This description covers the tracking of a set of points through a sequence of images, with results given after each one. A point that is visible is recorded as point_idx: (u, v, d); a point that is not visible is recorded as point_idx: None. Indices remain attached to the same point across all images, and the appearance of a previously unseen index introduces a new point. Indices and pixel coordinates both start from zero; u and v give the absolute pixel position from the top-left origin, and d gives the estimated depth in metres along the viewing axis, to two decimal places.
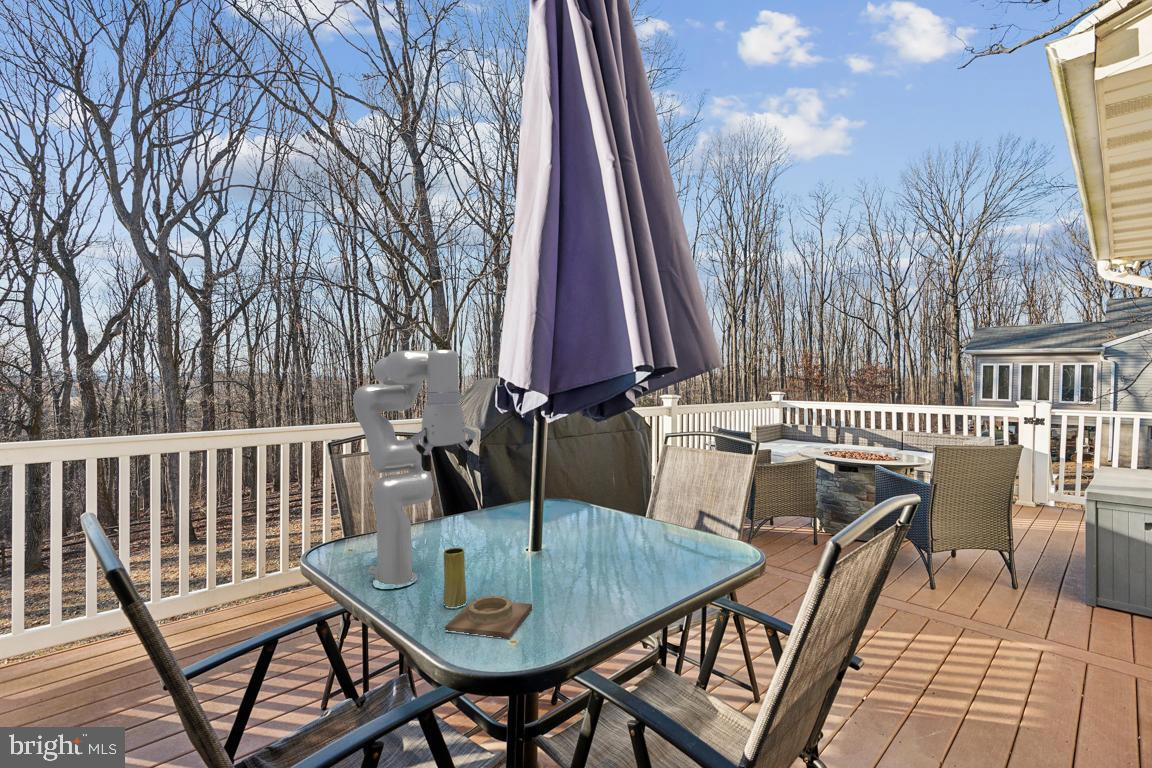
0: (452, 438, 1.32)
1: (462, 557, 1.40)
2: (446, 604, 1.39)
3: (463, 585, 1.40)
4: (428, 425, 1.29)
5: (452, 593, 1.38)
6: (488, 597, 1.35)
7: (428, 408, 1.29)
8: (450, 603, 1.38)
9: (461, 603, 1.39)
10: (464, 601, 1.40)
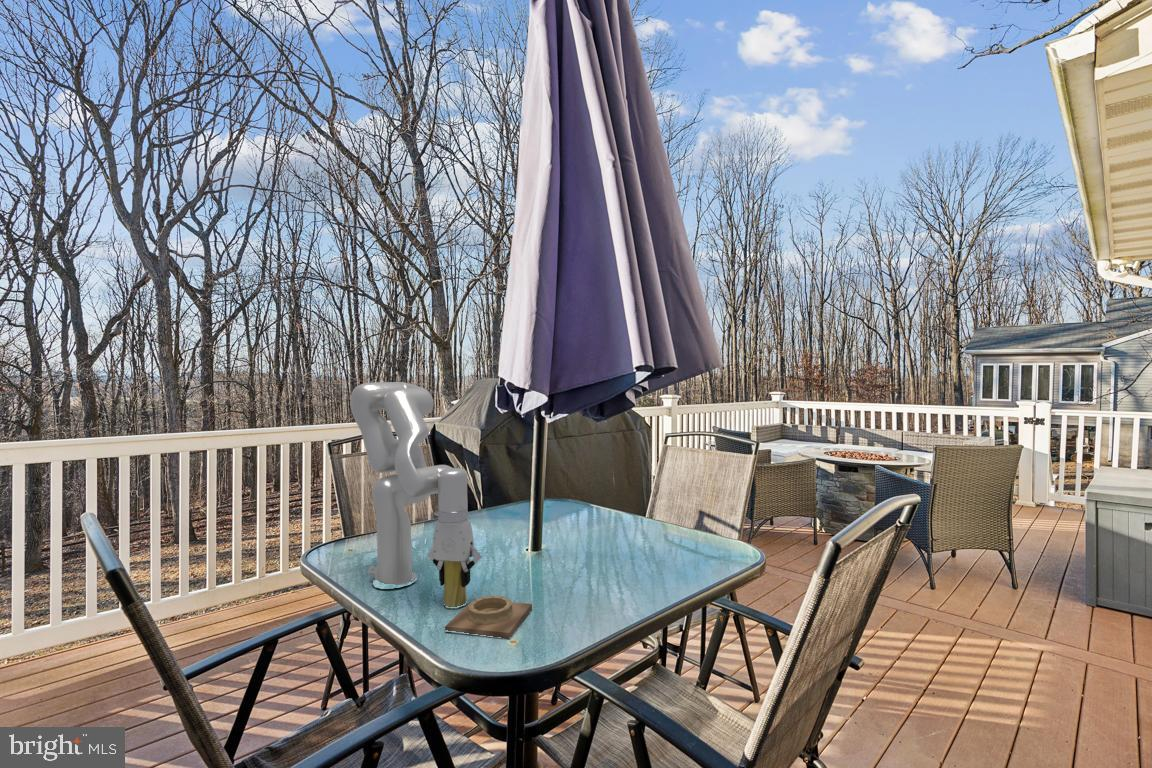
0: None
1: None
2: (446, 604, 1.39)
3: None
4: None
5: (452, 593, 1.38)
6: (488, 597, 1.35)
7: (470, 523, 1.40)
8: (450, 603, 1.38)
9: (461, 603, 1.39)
10: (464, 601, 1.40)
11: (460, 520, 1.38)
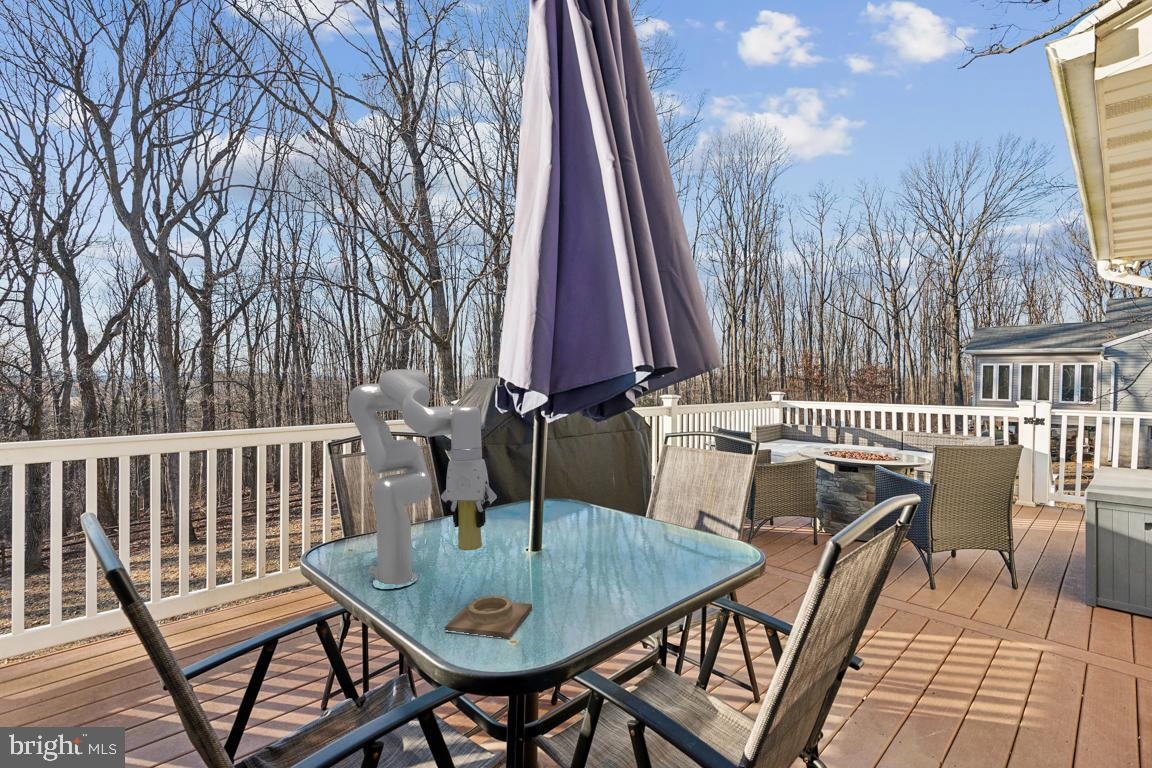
0: None
1: None
2: (461, 545, 1.34)
3: None
4: (487, 477, 1.36)
5: (467, 534, 1.33)
6: (488, 597, 1.35)
7: (484, 462, 1.36)
8: (465, 544, 1.33)
9: (476, 544, 1.34)
10: (479, 543, 1.35)
11: (474, 458, 1.33)
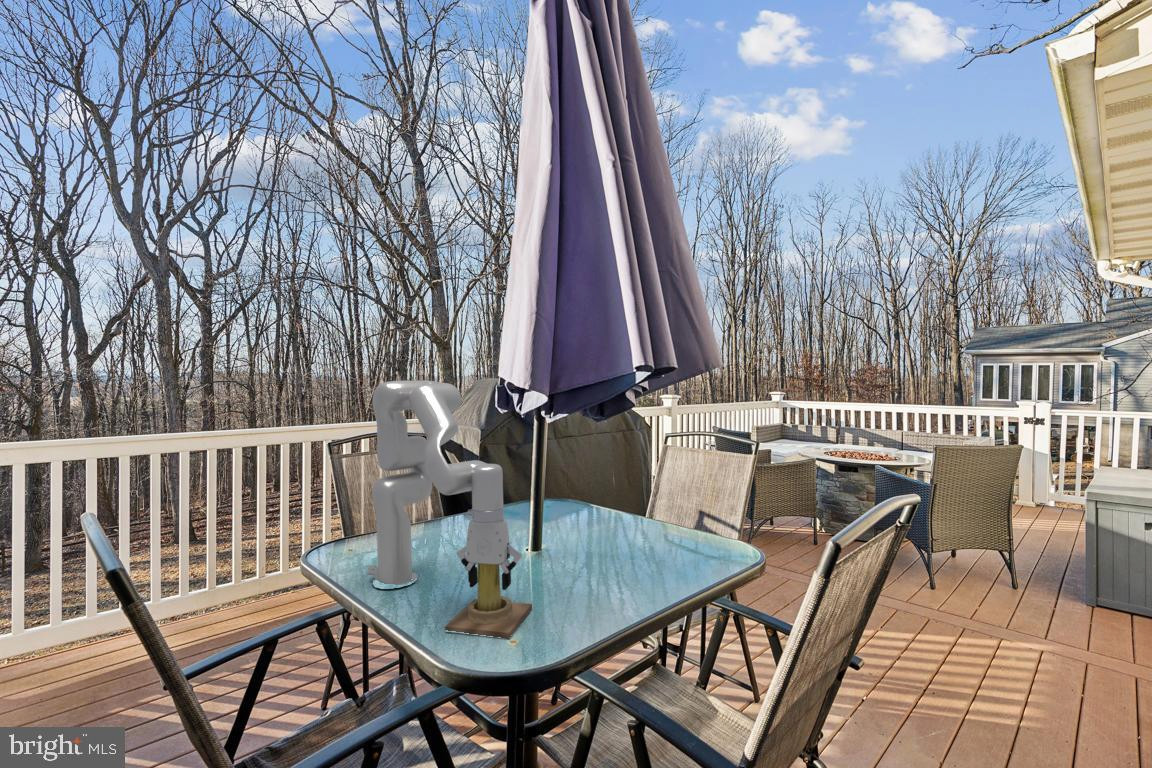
0: None
1: None
2: None
3: (498, 593, 1.30)
4: (509, 539, 1.31)
5: (487, 602, 1.28)
6: None
7: (506, 523, 1.30)
8: None
9: None
10: None
11: (496, 520, 1.28)
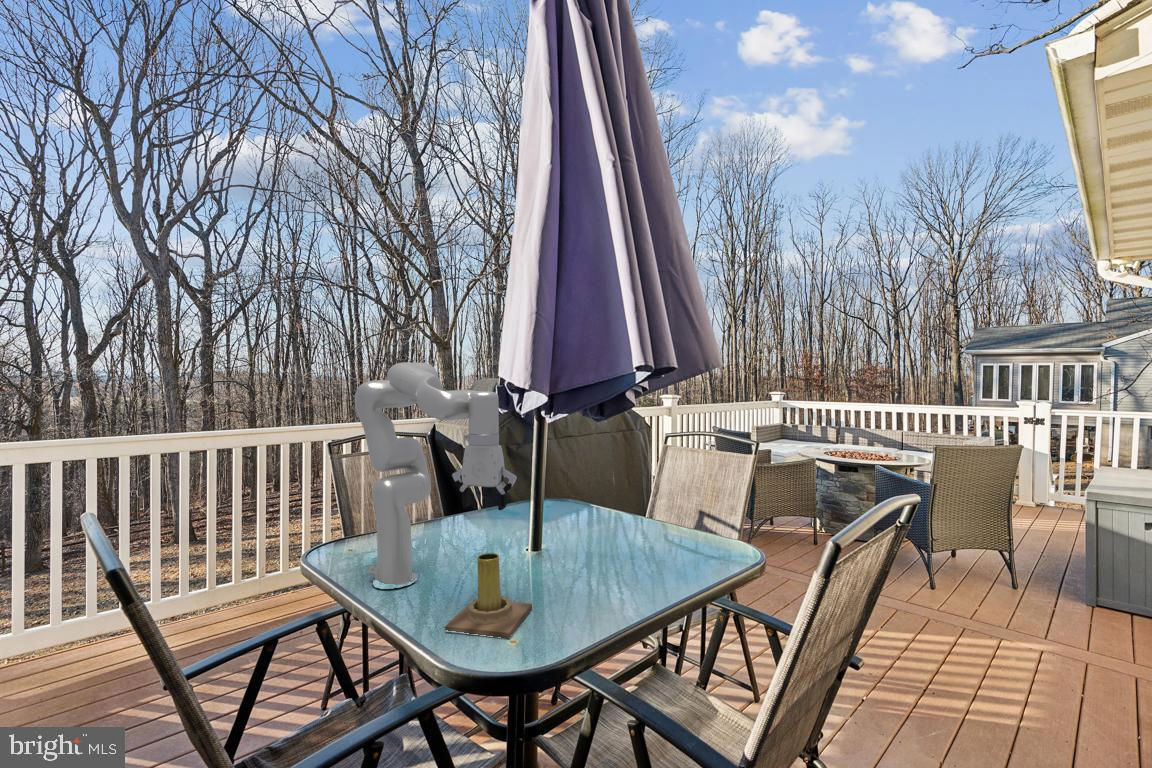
0: None
1: (497, 563, 1.30)
2: None
3: (498, 593, 1.30)
4: None
5: (487, 602, 1.28)
6: None
7: (501, 448, 1.34)
8: None
9: None
10: None
11: (491, 443, 1.32)
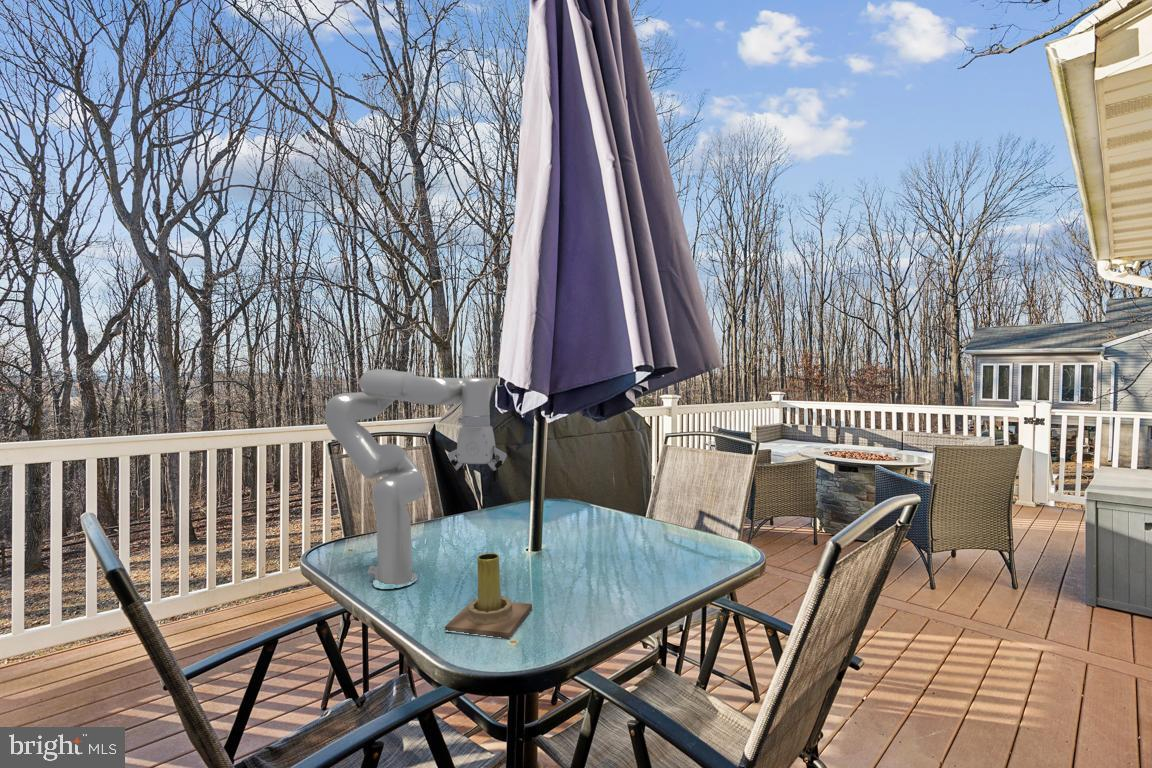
0: None
1: (497, 563, 1.30)
2: None
3: (498, 593, 1.30)
4: None
5: (487, 602, 1.28)
6: None
7: (492, 429, 1.48)
8: None
9: None
10: None
11: (483, 424, 1.46)
